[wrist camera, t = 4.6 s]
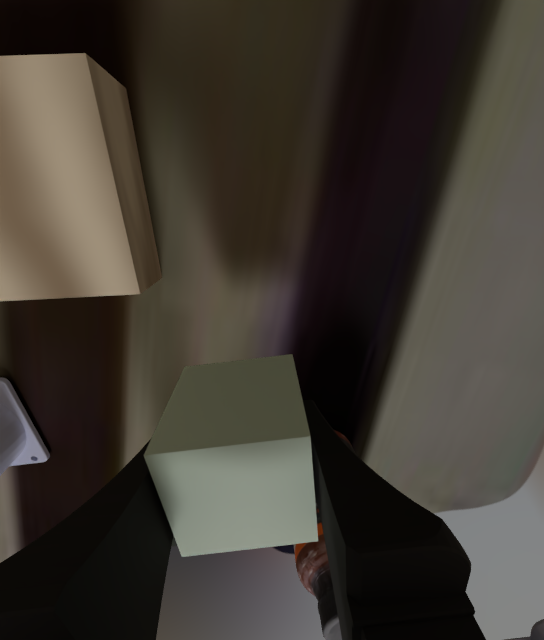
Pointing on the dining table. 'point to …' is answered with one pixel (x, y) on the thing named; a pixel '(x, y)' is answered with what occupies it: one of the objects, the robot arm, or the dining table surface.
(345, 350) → the dining table surface
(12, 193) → the birch base
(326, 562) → the supplement bottle
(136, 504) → the robot arm
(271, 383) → the sage cube
